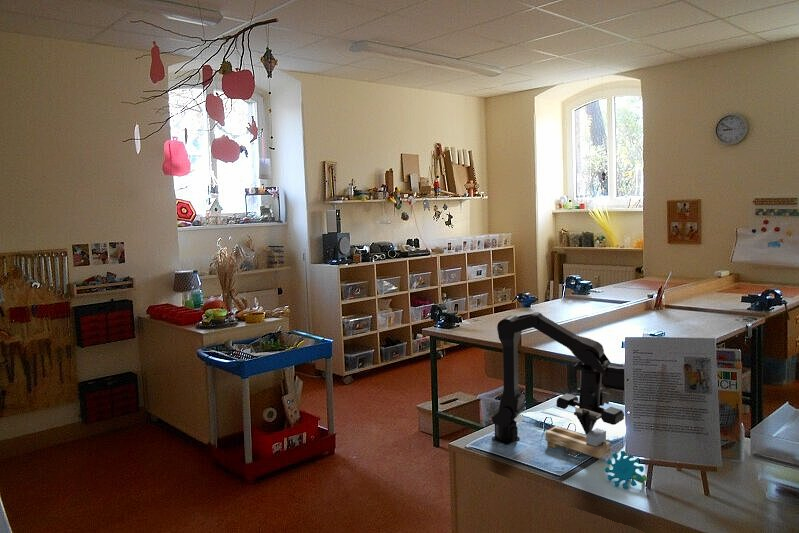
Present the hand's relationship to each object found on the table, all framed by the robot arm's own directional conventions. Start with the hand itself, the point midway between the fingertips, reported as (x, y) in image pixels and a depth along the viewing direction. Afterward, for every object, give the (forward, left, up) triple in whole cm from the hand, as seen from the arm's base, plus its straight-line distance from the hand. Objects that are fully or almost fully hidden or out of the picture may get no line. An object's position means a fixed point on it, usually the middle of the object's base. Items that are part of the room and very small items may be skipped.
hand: (588, 436), depth 176 cm
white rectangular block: (+3, 0, -3) cm, 4 cm away
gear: (+15, -8, -7) cm, 18 cm away
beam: (-4, 0, -6) cm, 7 cm away
